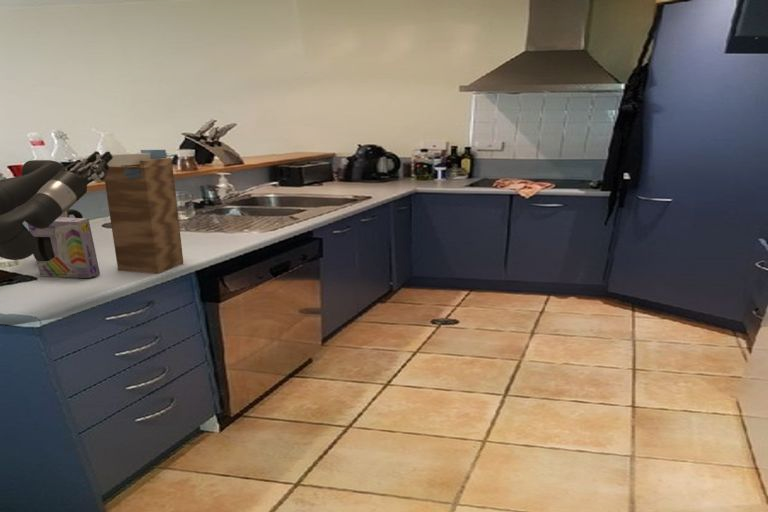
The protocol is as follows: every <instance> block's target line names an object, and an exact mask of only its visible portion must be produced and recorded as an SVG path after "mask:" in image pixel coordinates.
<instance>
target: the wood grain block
mask: <svg viewBox="0 0 768 512" xmlns="http://www.w3.org/2000/svg"><path fill="white" fill-rule="evenodd" d="M109 168H110V169H109V171H108V173H107V175H106V177H105V179H104V185H105V191H106V192H105V193H106V198H107V205H108V212H109V218H110V226H111V231H112V238H113V240H112V241H113V244H114V252H115V259H116V265H117V270H118V271H125V272H136V273H144V274H145V273H146V274H156V275H158V274H160V273H161V274H162V273H163V272H165V271H168V270H171V269H173V268H176V267H178V266H180V265H183V263H184V255H183V248H182V246H183V245H182V237H181V230H180V229H181V228H180V220H179V211H178V203H177V194H176V185H175V176H174V167H173V158H172V157H167V158H162V159H152V160H142V161H140V164H138V165H121V166H109Z"/></svg>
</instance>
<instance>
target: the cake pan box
mask: <svg viewBox="0 0 768 512" xmlns="http://www.w3.org/2000/svg"><path fill="white" fill-rule="evenodd" d="M27 227H28V228H27V229H28V231H29V232H30V233H31V234H32V235H33V236H34V237H35V239H36V241H37V249H36V251H35V252H34V253H33V254H32V256H33V257H34V259H35V260H36V264H37V269H38V272H39V277H40V276H41V277H56V278H57V277H59V278H76V279H77V278H79V279H82V278H83V279H84V278H85V279H86V278H87V279H90V278H93V277H96V276H99V275H101V271H100V267H99V262H98V258H97V252H96V248H95V242H94V239H93V234H92V233H93V232H92V228H91V224H90V220H89V218H84V217H83V218H75V217H69V218H66V217H58V218H57V219H56V220H55V221H54V222H53V223H52V224H51V225H50V226H48V227H47V228H44V229H38V228H35V227H33V226H31V225H30V224H28V223H27Z"/></svg>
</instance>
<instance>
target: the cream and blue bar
mask: <svg viewBox="0 0 768 512" xmlns="http://www.w3.org/2000/svg"><path fill="white" fill-rule="evenodd" d="M166 151H167V150H166V149H140V152H138V153H119V154H118V153H116V154H115V153H113V154H111V155H112V157H113V158H112V159H111V160H110V161H109V162H108V163H107V164H108V166H121V165H138V164H140V161H142V160H152V159H162V158H168V152H166ZM102 155H103V154H100V155H96V160H97V159H98V158H100V157H101V156H102ZM96 166H97V167H98V166H99V164H97V165H96Z"/></svg>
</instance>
